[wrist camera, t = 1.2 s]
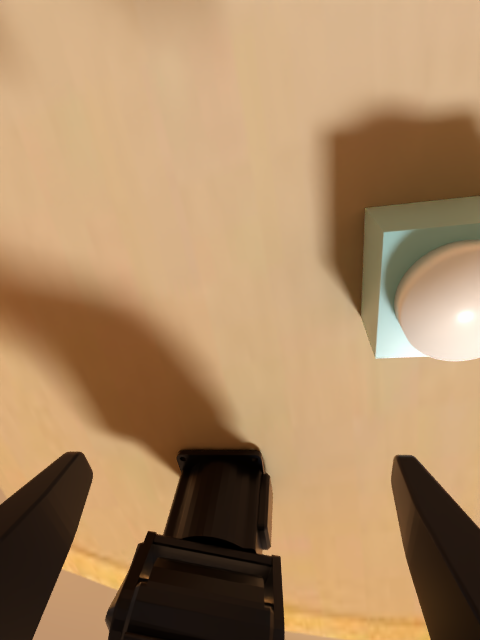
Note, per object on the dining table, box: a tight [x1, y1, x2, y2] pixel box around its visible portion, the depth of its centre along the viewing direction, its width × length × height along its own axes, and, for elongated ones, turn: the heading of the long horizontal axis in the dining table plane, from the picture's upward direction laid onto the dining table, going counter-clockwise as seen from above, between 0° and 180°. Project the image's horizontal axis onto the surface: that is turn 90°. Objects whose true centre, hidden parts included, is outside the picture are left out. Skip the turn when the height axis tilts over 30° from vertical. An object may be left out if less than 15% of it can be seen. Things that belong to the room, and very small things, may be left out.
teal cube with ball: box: [361, 196, 480, 361], centre depth 16 cm, size 6×6×5 cm
